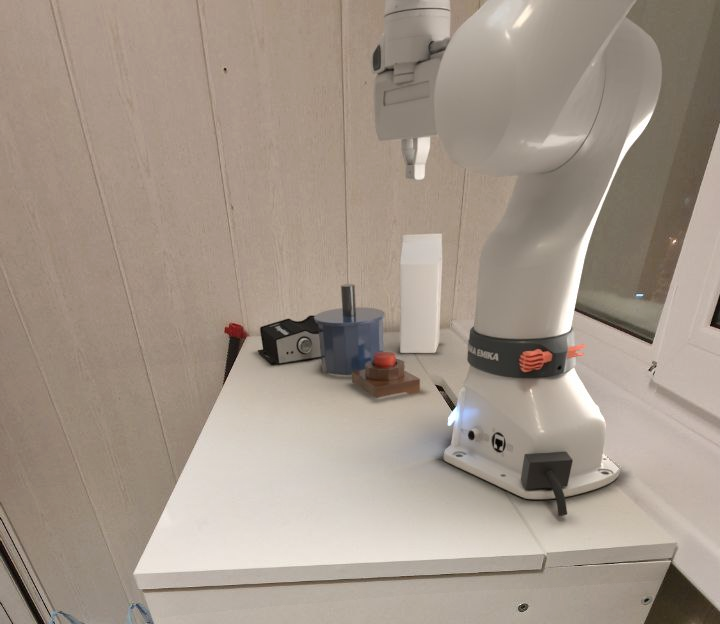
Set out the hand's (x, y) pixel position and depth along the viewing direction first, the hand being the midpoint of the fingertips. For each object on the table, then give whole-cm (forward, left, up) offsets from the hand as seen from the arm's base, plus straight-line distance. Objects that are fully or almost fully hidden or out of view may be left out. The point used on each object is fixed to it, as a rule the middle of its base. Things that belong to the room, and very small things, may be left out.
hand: (415, 179), depth 84 cm
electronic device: (+23, +12, -27) cm, 37 cm away
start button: (-7, +9, -24) cm, 26 cm away
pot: (+7, +9, -27) cm, 29 cm away
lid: (+7, +9, -19) cm, 22 cm away
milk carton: (+12, -8, -27) cm, 31 cm away
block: (-7, +9, -27) cm, 29 cm away
